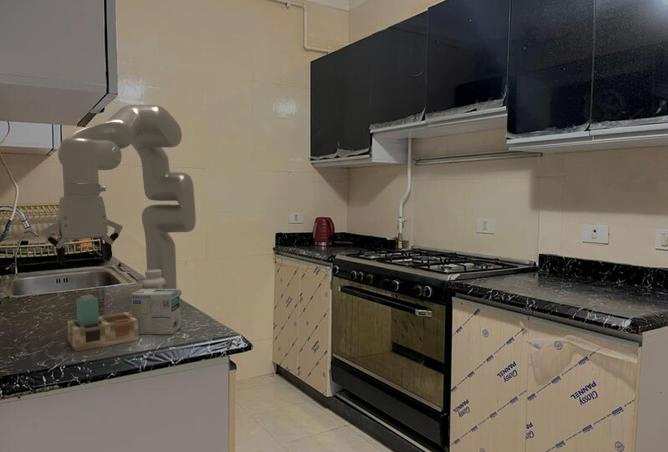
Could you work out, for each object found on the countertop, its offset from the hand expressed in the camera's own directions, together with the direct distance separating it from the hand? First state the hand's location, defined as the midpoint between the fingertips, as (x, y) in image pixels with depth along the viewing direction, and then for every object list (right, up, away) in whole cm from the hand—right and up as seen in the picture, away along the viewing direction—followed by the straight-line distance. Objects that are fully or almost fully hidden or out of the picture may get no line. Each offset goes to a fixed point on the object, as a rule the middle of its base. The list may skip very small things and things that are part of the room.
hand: (85, 262), depth 119 cm
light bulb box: (+13, -19, +11) cm, 26 cm away
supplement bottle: (+6, -18, +30) cm, 35 cm away
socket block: (+3, -20, +4) cm, 20 cm away
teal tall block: (0, -19, +1) cm, 19 cm away
